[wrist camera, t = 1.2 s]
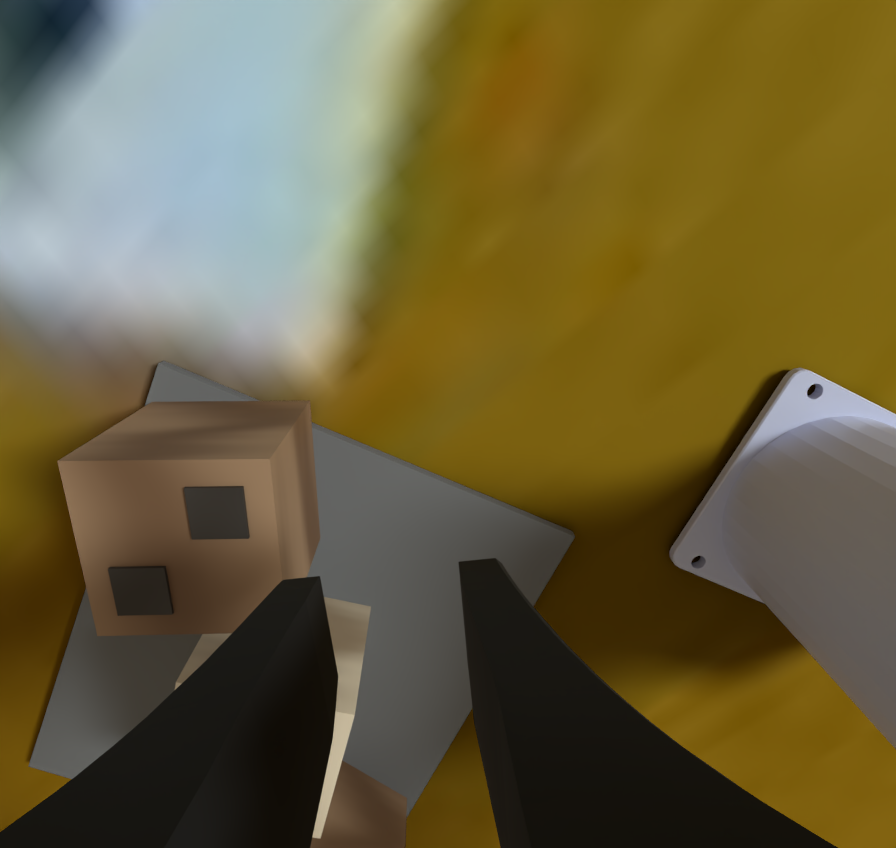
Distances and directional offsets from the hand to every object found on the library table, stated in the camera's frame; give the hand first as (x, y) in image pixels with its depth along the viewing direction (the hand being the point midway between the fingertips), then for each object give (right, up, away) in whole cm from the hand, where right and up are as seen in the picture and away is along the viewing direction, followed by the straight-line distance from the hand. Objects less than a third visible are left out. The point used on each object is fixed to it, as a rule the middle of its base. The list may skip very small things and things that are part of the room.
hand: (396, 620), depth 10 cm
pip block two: (-6, +2, +10) cm, 12 cm away
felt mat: (-5, -5, +13) cm, 15 cm away
